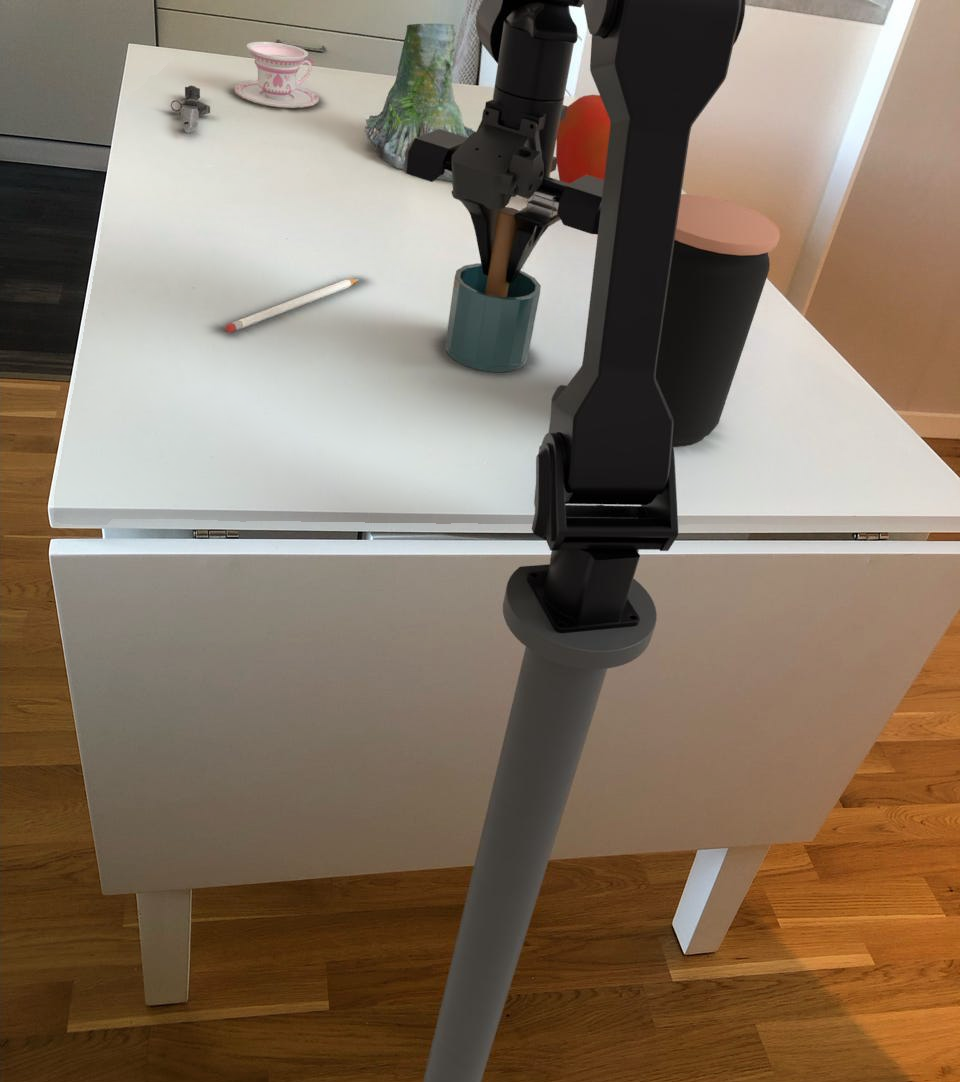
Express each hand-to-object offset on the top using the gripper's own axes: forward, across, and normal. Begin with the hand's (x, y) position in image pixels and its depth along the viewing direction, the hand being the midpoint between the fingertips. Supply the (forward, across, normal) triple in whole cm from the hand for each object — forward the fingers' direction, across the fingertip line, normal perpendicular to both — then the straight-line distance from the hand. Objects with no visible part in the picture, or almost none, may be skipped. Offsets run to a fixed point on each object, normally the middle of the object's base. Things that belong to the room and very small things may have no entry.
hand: (498, 277), depth 97 cm
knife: (+7, -60, +33) cm, 69 cm away
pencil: (+8, -18, -4) cm, 20 cm away
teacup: (+7, -60, +52) cm, 80 cm away
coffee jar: (+8, +18, -1) cm, 19 cm away
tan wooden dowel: (+2, 0, 0) cm, 2 cm away
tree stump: (+7, -33, +48) cm, 59 cm away
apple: (+7, -8, +47) cm, 48 cm away
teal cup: (+7, 0, 0) cm, 7 cm away
